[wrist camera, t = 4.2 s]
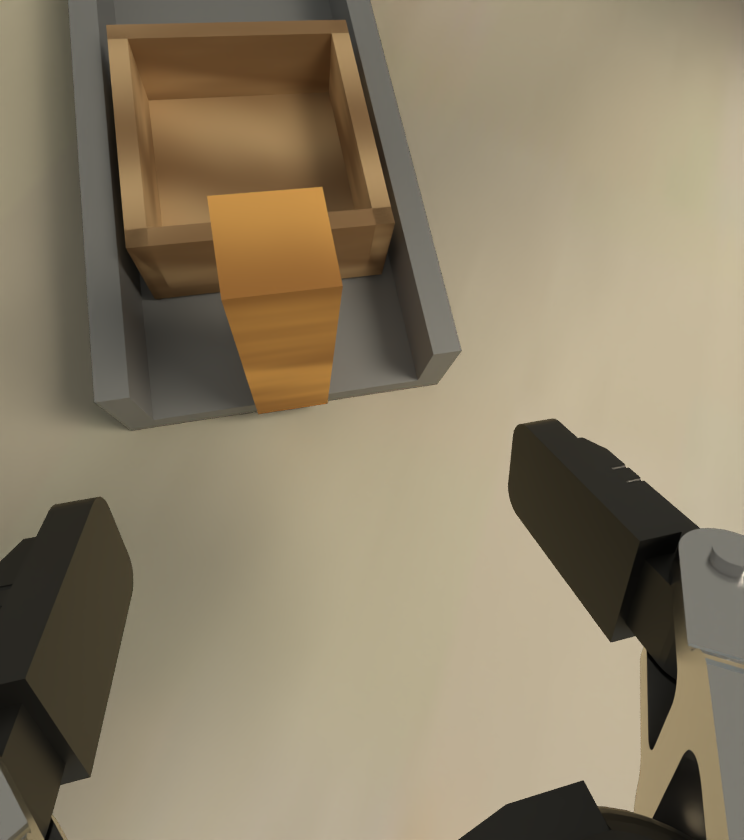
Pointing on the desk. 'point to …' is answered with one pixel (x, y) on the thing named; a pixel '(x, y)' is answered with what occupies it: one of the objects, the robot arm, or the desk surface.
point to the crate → (251, 184)
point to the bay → (204, 313)
